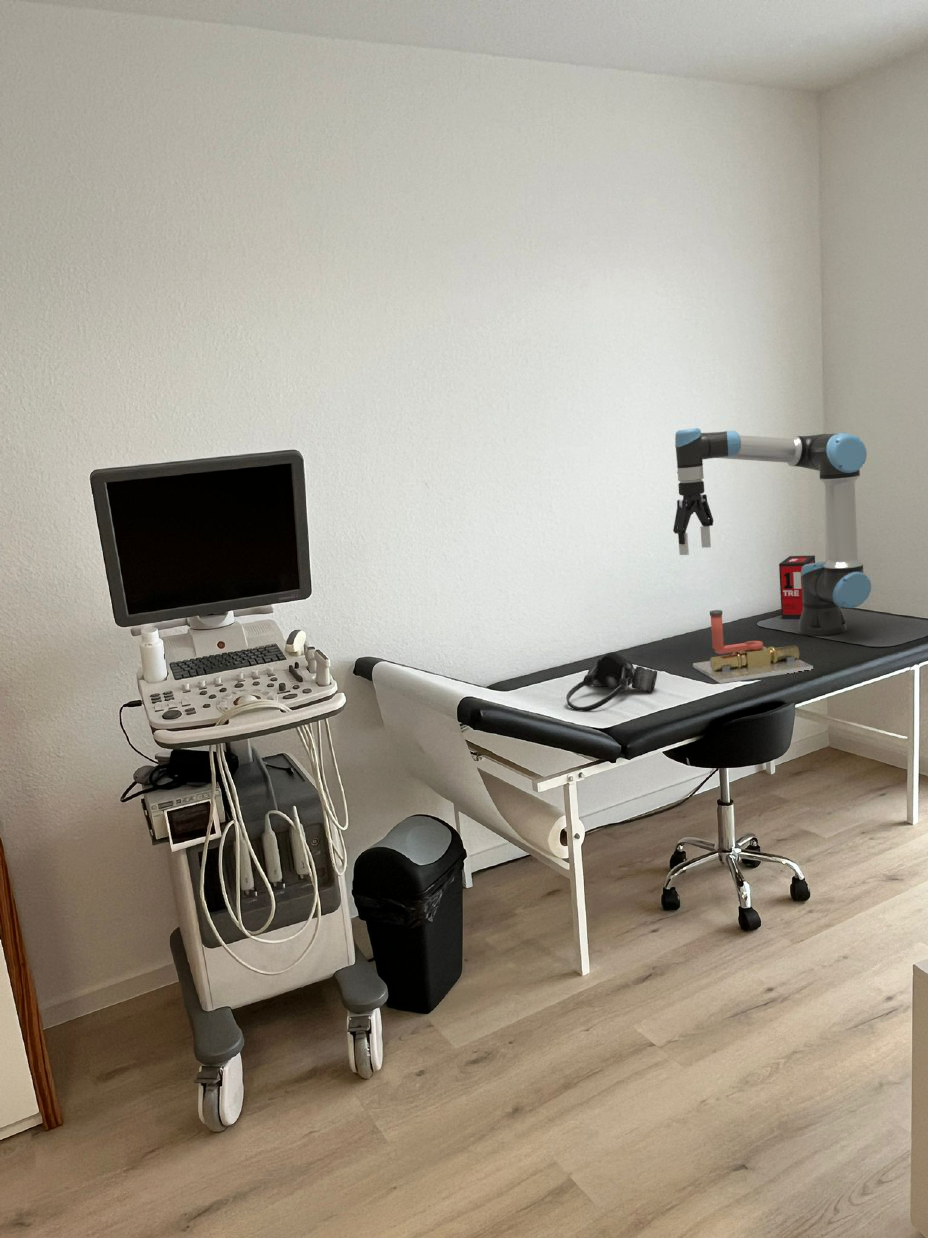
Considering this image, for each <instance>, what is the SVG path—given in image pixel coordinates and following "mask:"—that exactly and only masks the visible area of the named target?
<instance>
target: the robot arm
mask: <svg viewBox="0 0 928 1238" xmlns="http://www.w3.org/2000/svg"><path fill="white" fill-rule="evenodd" d="M674 441H675V443H674V447H675V454H676V468H677V471H676V474H677V481H678V482H679V483H678V495H679V496H682V499H677V501H676V512H675V519H674V522H673V523H674V525H673V529H672V530H673V533H674V534H677V538H678V551H679V556H688V555H689V554H690V552H689V538H688V532H687V528H688V526H689V523H690V520H691V516H692V515H693V514H694V513H695V515H696V517H697V518H698V520H699V522H700V524H701V526H700V540H701V541H700V542H701V548H702V549H703V548H704V549H705V548H706V549H707V548H711V547H712V544H711V543H712V541H711V540H712V539H711V529H710V528H711V527H713V525H714V517H713V515H712V511H711V509H710V506H709V502H708V499H707V498H708V497H707V494H704V493H705V482H704V480H703V479H704V478H705V477H704V466H703V465H704V463H703V461H704V460H710V459H723V460H724V459H725V460H726V459H727V460H741V461H742V460H743V461H753V462H754V461H759V462H770V463H771V462H773V463H784V464H785V463H786V464H787V465H788V466H789V467H800V468H805V469H810V470H814V471H817V472H818V471H819V480H820V481H821V482H822V483H823V484H824V487H825V508H826V509H825V510H826V512H825V513H826V528H827V529H826V534H827V535H826V536H827V554H828V560H827V561H821V562H815V563H811V564H806V565H804V566H803V567H802V570H801V578H802V598H803V611H802V614H801V617H800V619H799V621H798V625H797V626H798V627H797V628H798V630H797V631H798V633H800V634H802V635H806V636H834V635H838V634H842V633H845V632H847V628H848V627H847V626H848V625H847V621H846V618H845V615H844V613H843V611H842V608H846V609H847V608H848V609H854V608H856V607H860V606H861V605H863V604H864V603H865V601H866V600H868V599H869V596H870V595H871V591H872V582H871V579H870V578H869V577H868V575H867V574H866V573H864V562H863V561H861V560H860V559H859V557H858V554H859V553H858V532H857V531H858V530H857V529H858V528H857V510H856V509H857V508H856V507H857V505H856V504H857V503H856V481H857V480H858V479H859V478H860V476H861V474H860V473H861V472H860V470H861V469H862V467H863V465H864V464H865V462H866V460H867V448H866V444H865V443H864V442H863V441H862V439H861V438H859V436H858V435H855V434H851V433H845V432H839V433H821V434H814V435H803V436H802V435H793V436H791V437H790V438H786V437H785V438H784V437H770V436H768V437H767V436H752V435H741V434H739V433H738V432H737V431H736V430H725V431H713V432H701V429H700V428H699V427H698V428H697V427H696V428H688V429H687V428H686V429H679V430H677V431H676V432H675V438H674Z"/></svg>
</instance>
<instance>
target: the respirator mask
mask: <svg viewBox="0 0 928 1238" xmlns="http://www.w3.org/2000/svg"><path fill="white" fill-rule="evenodd" d="M657 678H658V670H655V669H654V670H653V669H649V668H646V667H642V666H636V667H634V665H633V663H632V662H631V661H630V660H628V659H627V658H625V657H624V656H622V655H621V654H619V653H616V652H608V653H607V654H605V655H604V656H603V657H602V658H601V659H600V658H599V659H598V660H597V663H596V664H594V665H592V666H590V667H589V669H588V671H587V674H585V676H584V677H583V680H582V681H581V682H579V683H577V684H576V685H574V686H573V687H572V688H571V689H569V691H568V692H567V694H566V702H567V705H568V707H570V708H571V709H572V708H573V709H572V710H574V709H575V710H574V711H578V710H583V711H582V712H590V711H593V710H596V709H598V708H600V707H602V706H604V705H605V704H607V703H608V702H610V701H611V700H612V699H614V698H615V697H616V696H617V695H618V694H619V693H621V692H622V691H627V690H628V689H629V686H630V685H631V688H632V689H635V690H641V691H643V692H649V693H653V692H654V689H655V686H656V682H657ZM592 686H594V687H603V686H604V687H607V688H609V689H610V688H611V689H612V691H611V692H610V693H609V694H608V695H606V696H605V697H603V698H602V699H600V700H599V701H596V702H595V703H592V704H590V705H586V706H578V705H574V704H573V703H572V702H571V701H570V700H571V697H572V696H573V695H574V694H575V693H576V692H578V691H579V690H580V689H581V688H583V687H592ZM652 691H653V692H652Z"/></svg>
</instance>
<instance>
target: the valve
mask: <svg viewBox="0 0 928 1238" xmlns="http://www.w3.org/2000/svg"><path fill="white" fill-rule="evenodd" d="M731 653H732V654H731ZM731 653H730V654H723V655H719V656H718V655H717V656H711V657H710V659H709V660H708V661H707V660H705V661H701V662H694V663H692V666H693V668H694V669H696V670H697V671H699V672H701V673H702V674H704V675H706V676H707V677H709V678H710V679H712V680H714V681H716V682H717V683H719V684H726V683H733V682H734V683H735V682H740V681H741V682H742V681H746V680H747V681H748V680H755V679H761V678H766V677H774V676H782V675H787V673H789V674H794V672H795V673H799V672H798V671H802V672H805V671H804V670H809V671H812V670H811V669H813V670H814V665H812V664H811V663H807V662H806V661H803V660H801V659H799V657H800V650H799V647H798V646H797V645H795V644H794V645H788V646H787V645H786V646H782V647H781V646H780V647H775V646H774V645H773V646H768V647H766V646H765V645H763V648H762V649H758V650H745V651H738V652H731Z"/></svg>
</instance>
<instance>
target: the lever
mask: <svg viewBox="0 0 928 1238" xmlns="http://www.w3.org/2000/svg"><path fill="white" fill-rule="evenodd" d="M709 616H710V628H711V641H712V642H711V643H712V644H711V645H712V646H711V647H712V649H713V650H714V653H716V654H717V655H722V654H723V655H725V654H729V653H730V654H731V653H733V652H739V651H745V650H758V649H762V648H763V646H764V643H763V641H761V640H750V641H749V640H748V641H745V642H742V643H735V644H728V645H727V644H726V645H724V643H725V642H724V628H723V610H721V609H713V610H710V611H709Z"/></svg>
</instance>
